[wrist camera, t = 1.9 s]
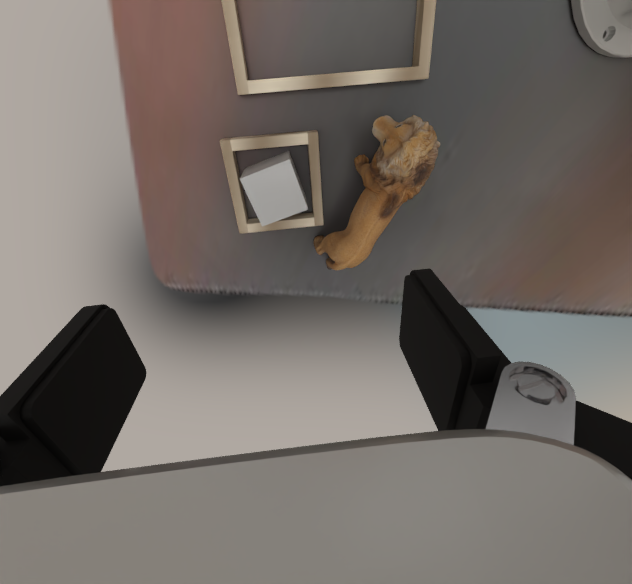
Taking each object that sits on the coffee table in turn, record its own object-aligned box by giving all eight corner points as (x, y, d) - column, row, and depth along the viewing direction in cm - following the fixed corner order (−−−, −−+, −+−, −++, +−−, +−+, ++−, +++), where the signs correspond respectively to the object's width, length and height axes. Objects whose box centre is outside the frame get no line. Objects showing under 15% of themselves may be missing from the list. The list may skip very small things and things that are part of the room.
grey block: (288, 150, 26) (289, 159, 23) (305, 195, 29) (308, 209, 25) (245, 167, 27) (239, 178, 24) (264, 210, 29) (262, 226, 26)
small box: (316, 130, 26) (317, 131, 24) (322, 219, 30) (323, 225, 29) (222, 138, 25) (219, 140, 24) (241, 227, 30) (239, 233, 28)
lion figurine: (359, 99, 25) (393, 102, 17) (418, 122, 26) (474, 135, 19) (305, 260, 32) (312, 312, 24) (353, 272, 33) (374, 326, 26)
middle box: (435, -79, 20) (445, -90, 19) (421, 79, 24) (428, 78, 23) (212, -64, 19) (208, -74, 18) (240, 94, 24) (237, 94, 23)
